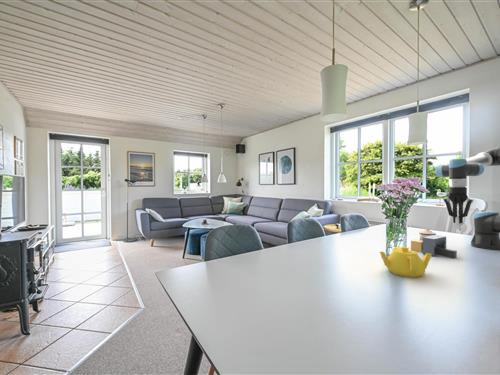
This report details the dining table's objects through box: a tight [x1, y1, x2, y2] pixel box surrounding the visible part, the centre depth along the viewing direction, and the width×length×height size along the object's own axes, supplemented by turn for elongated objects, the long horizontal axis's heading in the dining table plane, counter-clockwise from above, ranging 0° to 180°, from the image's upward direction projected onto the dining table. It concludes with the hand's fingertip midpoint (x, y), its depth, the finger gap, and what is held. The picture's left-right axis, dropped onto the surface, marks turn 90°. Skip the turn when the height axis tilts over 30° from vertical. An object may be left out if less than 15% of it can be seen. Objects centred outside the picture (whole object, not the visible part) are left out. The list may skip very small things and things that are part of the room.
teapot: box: [379, 246, 432, 278], centre depth 116 cm, size 17×17×12 cm
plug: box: [410, 239, 458, 259], centre depth 147 cm, size 6×22×6 cm, turn 29°
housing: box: [422, 234, 447, 257], centre depth 146 cm, size 14×6×10 cm, turn 119°
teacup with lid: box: [418, 228, 437, 241], centre depth 163 cm, size 12×9×12 cm
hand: (458, 229), depth 136 cm, fingers closed
